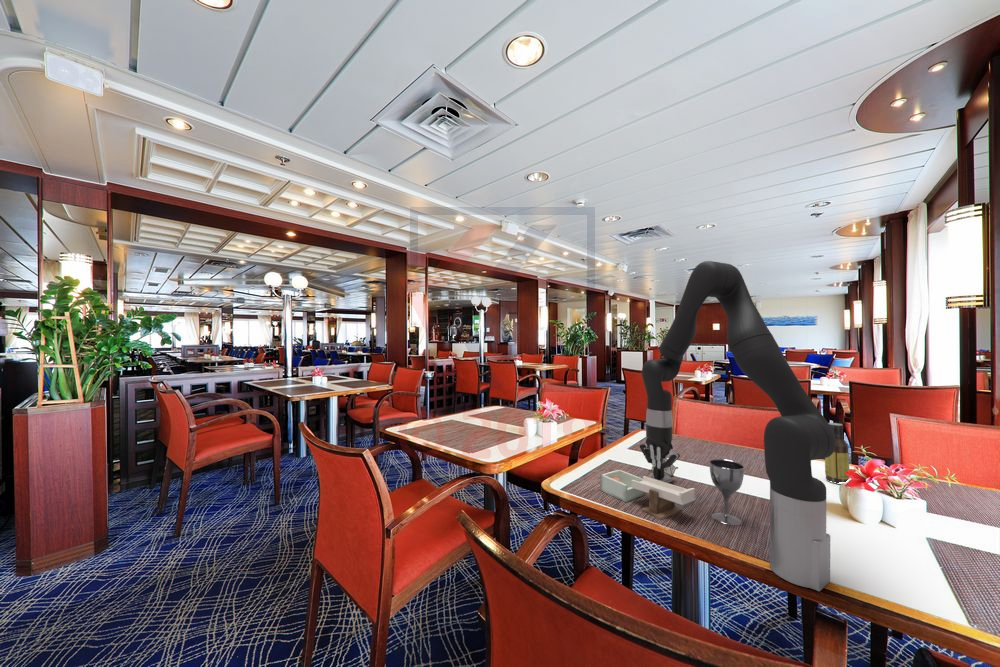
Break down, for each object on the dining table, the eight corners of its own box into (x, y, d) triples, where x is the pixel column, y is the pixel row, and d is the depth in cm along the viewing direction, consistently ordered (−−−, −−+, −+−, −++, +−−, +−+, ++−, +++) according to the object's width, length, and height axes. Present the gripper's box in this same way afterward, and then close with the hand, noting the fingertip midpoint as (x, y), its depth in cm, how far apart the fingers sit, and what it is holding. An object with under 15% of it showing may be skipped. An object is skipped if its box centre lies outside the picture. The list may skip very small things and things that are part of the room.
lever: (712, 497, 104) (711, 481, 104) (683, 509, 96) (682, 493, 97) (661, 481, 118) (661, 468, 118) (632, 491, 110) (631, 477, 110)
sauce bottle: (850, 482, 126) (850, 424, 126) (849, 487, 121) (849, 427, 121) (825, 476, 130) (825, 420, 130) (823, 481, 126) (823, 423, 126)
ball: (625, 484, 118) (619, 474, 120) (618, 486, 116) (612, 476, 118) (619, 489, 120) (613, 479, 122) (612, 491, 118) (606, 481, 120)
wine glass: (727, 528, 96) (727, 470, 96) (702, 513, 103) (702, 460, 103) (751, 523, 98) (751, 467, 98) (725, 510, 105) (725, 457, 105)
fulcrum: (682, 510, 105) (682, 487, 105) (660, 520, 100) (660, 496, 100) (663, 502, 110) (663, 480, 110) (641, 511, 105) (641, 488, 105)
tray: (644, 495, 115) (644, 479, 115) (625, 502, 110) (625, 485, 110) (618, 484, 123) (619, 469, 123) (600, 490, 118) (600, 474, 118)
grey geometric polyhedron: (669, 493, 125) (683, 476, 119) (644, 482, 127) (657, 465, 121) (668, 472, 132) (682, 455, 126) (645, 462, 134) (657, 445, 128)
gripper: (686, 426, 110) (686, 484, 111) (648, 417, 122) (647, 469, 122) (671, 430, 106) (671, 489, 107) (633, 420, 118) (632, 474, 118)
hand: (658, 478), depth 114 cm, fingers closed
